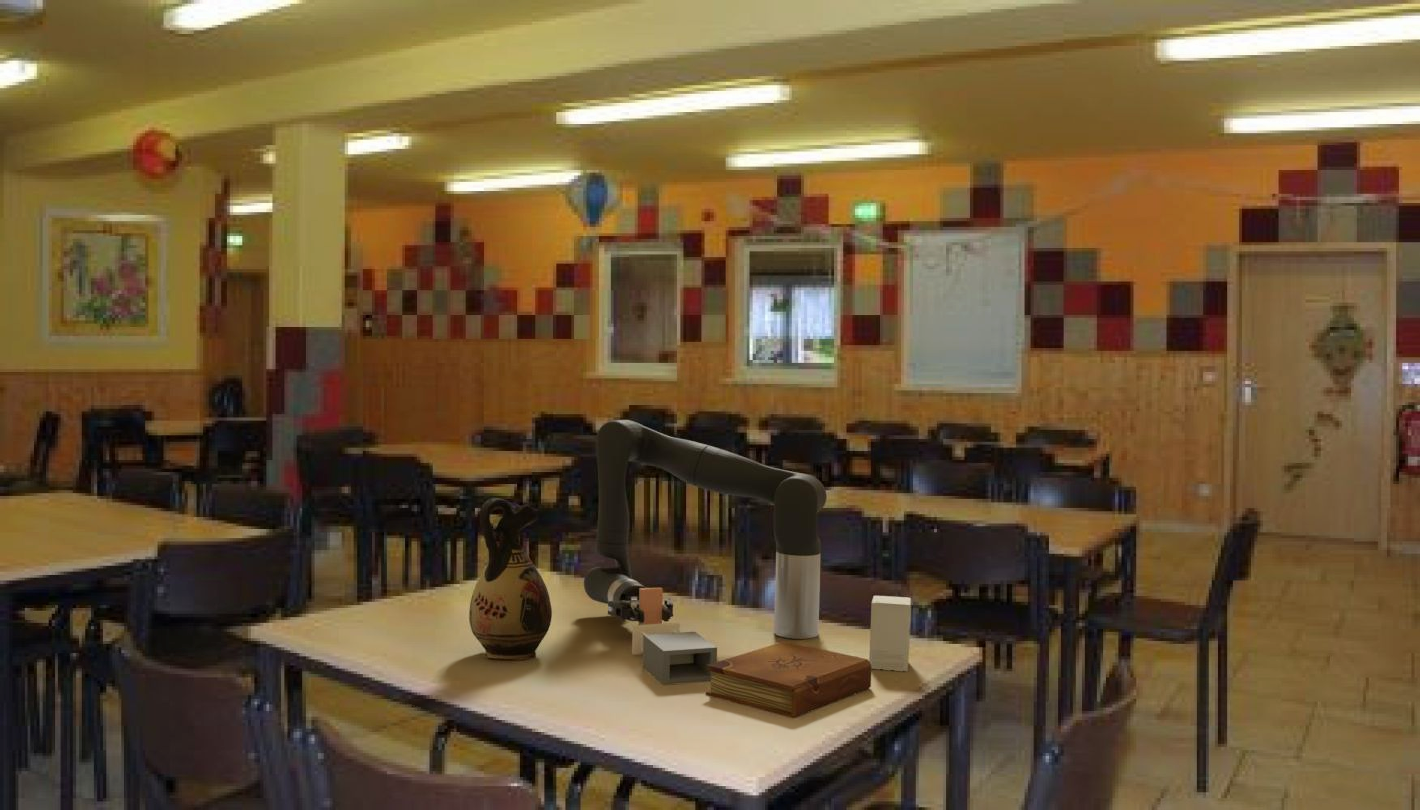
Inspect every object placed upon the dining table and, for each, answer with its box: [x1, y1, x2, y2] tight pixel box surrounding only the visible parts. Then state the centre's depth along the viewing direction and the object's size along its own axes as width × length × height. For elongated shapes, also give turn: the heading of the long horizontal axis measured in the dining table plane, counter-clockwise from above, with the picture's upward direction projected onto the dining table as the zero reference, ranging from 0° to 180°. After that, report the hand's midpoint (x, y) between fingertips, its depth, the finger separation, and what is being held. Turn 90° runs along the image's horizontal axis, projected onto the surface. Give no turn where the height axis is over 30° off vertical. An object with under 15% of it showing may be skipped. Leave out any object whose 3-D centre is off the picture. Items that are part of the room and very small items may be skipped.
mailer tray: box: [631, 586, 694, 665], centre depth 220 cm, size 9×17×12 cm, turn 20°
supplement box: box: [868, 595, 912, 672], centre depth 220 cm, size 7×7×13 cm
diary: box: [705, 640, 872, 719], centre depth 201 cm, size 23×19×6 cm
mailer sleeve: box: [642, 631, 718, 686], centre depth 211 cm, size 10×12×6 cm
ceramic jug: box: [468, 497, 553, 661], centre depth 220 cm, size 17×15×30 cm
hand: (654, 617), depth 224 cm, fingers closed on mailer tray, 4 cm apart
